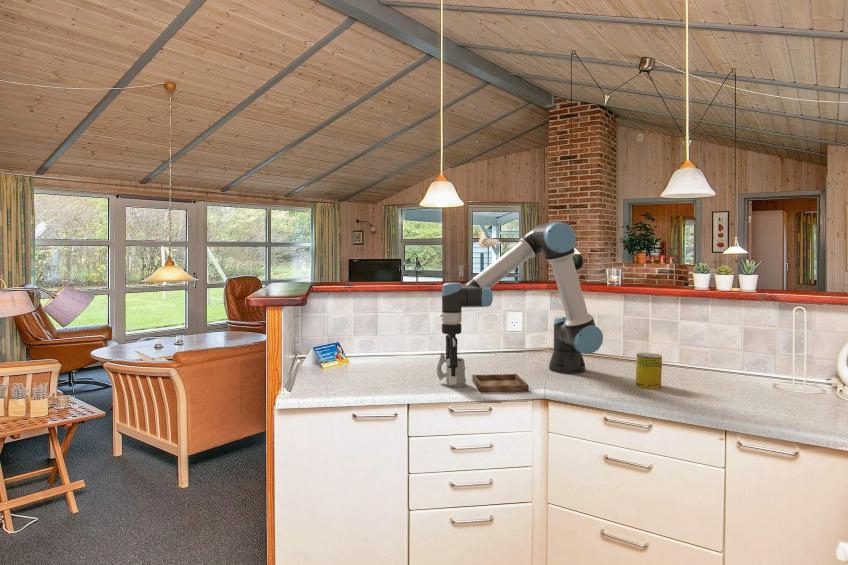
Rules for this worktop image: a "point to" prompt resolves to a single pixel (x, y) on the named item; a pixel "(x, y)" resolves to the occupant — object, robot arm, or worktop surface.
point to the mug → (460, 371)
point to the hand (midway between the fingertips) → (451, 381)
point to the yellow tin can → (648, 370)
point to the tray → (500, 383)
